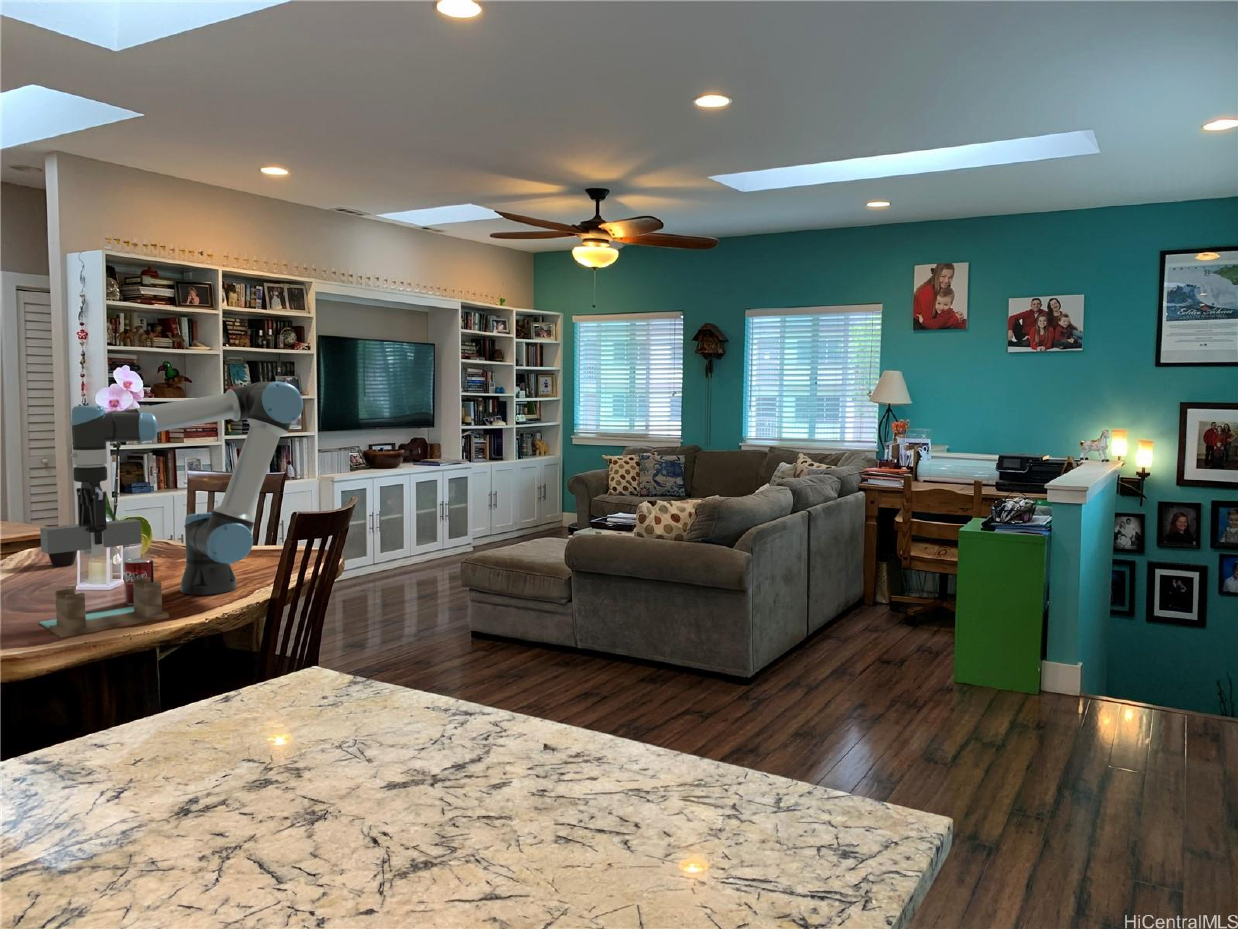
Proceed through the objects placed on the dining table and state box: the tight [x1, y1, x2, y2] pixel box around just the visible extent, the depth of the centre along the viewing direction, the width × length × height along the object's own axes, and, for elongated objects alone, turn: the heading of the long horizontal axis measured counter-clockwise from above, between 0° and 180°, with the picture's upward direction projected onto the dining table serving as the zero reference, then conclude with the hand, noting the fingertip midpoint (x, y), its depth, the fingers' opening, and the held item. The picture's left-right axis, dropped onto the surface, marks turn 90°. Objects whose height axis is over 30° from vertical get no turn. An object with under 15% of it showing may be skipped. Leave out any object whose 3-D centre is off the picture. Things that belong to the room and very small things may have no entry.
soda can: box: [123, 557, 155, 606], centre depth 250 cm, size 7×7×12 cm
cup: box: [47, 551, 78, 568], centre depth 300 cm, size 10×14×12 cm
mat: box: [38, 605, 134, 630], centre depth 234 cm, size 24×7×1 cm, turn 139°
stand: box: [49, 577, 170, 638], centre depth 227 cm, size 25×8×10 cm, turn 139°
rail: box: [39, 518, 142, 555], centre depth 232 cm, size 22×5×6 cm, turn 139°
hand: (93, 555), depth 233 cm, fingers closed on rail, 5 cm apart
